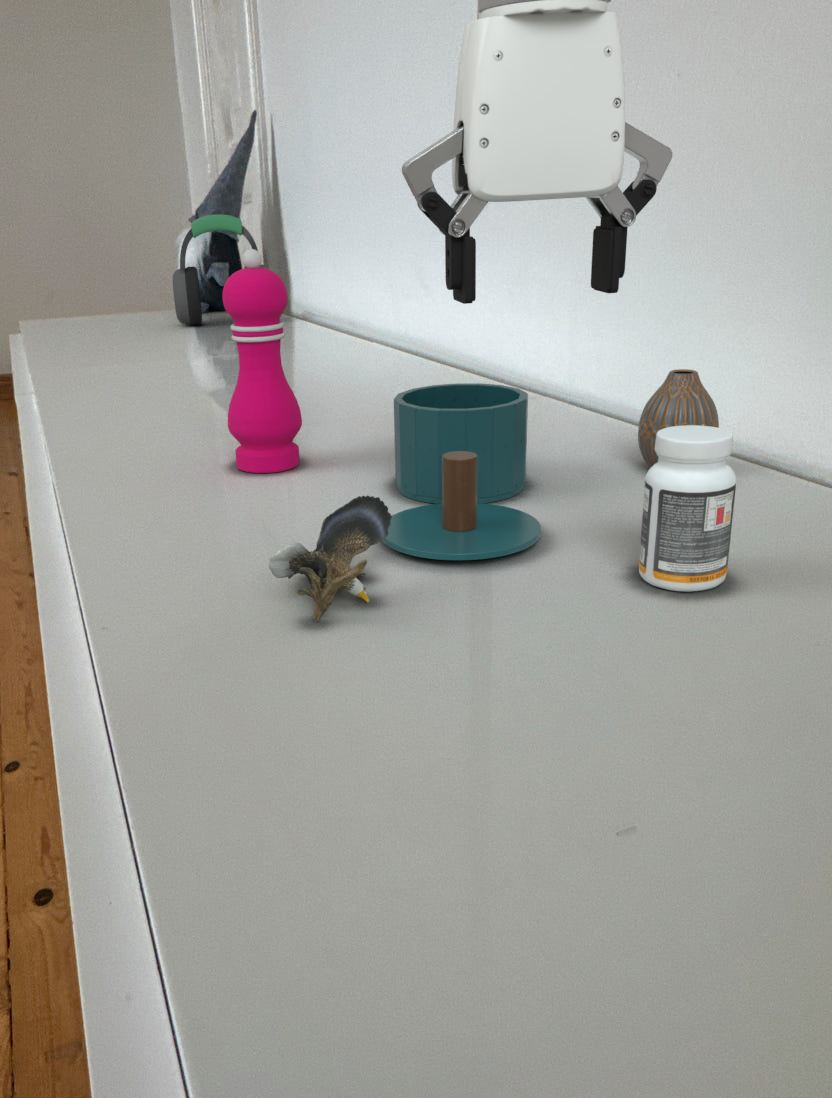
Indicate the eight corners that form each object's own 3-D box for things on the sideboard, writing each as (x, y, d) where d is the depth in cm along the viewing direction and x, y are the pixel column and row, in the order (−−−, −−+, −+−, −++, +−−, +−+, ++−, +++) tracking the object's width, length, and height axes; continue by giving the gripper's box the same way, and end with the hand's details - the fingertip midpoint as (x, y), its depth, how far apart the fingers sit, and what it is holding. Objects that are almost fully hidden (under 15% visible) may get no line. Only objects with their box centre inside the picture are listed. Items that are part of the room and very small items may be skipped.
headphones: (271, 317, 205) (264, 211, 197) (274, 324, 196) (266, 213, 187) (179, 322, 204) (167, 216, 195) (177, 329, 194) (164, 218, 185)
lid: (510, 509, 83) (512, 430, 80) (564, 558, 72) (569, 468, 69) (366, 523, 81) (363, 443, 78) (399, 576, 70) (397, 485, 67)
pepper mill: (237, 457, 102) (217, 248, 94) (307, 454, 102) (294, 244, 94) (226, 476, 96) (205, 253, 87) (301, 473, 95) (287, 250, 87)
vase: (669, 483, 87) (679, 382, 84) (619, 466, 93) (626, 370, 90) (730, 471, 90) (742, 372, 86) (678, 455, 96) (687, 361, 92)
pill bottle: (743, 580, 67) (762, 432, 63) (687, 601, 64) (703, 448, 60) (674, 557, 71) (688, 418, 67) (619, 577, 68) (629, 432, 64)
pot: (501, 464, 96) (503, 379, 92) (543, 497, 85) (546, 403, 82) (385, 475, 94) (382, 389, 90) (413, 510, 84) (411, 415, 80)
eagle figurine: (404, 609, 62) (417, 536, 69) (335, 524, 59) (356, 457, 66) (310, 660, 65) (331, 585, 72) (239, 581, 62) (269, 512, 70)
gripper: (654, -3, 63) (635, 282, 71) (386, 6, 61) (395, 299, 68) (711, -25, 57) (683, 293, 64) (413, -16, 54) (419, 312, 62)
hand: (534, 296), depth 66 cm, fingers open, 9 cm apart
